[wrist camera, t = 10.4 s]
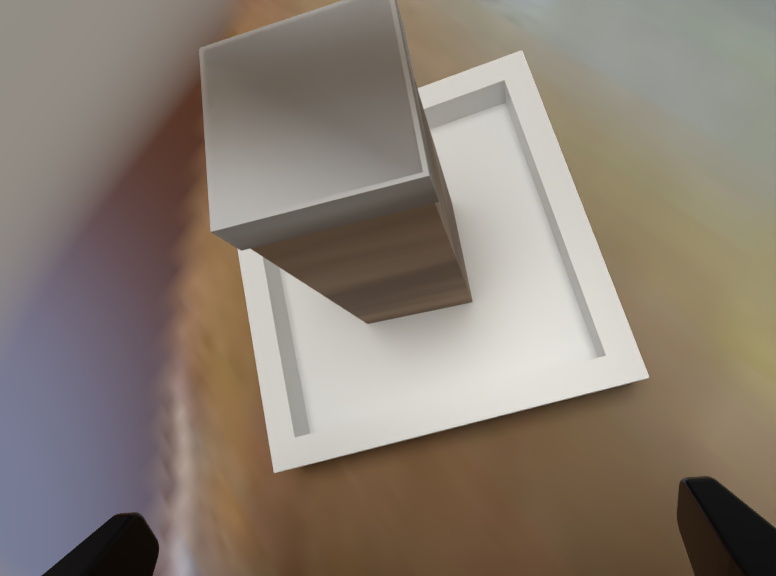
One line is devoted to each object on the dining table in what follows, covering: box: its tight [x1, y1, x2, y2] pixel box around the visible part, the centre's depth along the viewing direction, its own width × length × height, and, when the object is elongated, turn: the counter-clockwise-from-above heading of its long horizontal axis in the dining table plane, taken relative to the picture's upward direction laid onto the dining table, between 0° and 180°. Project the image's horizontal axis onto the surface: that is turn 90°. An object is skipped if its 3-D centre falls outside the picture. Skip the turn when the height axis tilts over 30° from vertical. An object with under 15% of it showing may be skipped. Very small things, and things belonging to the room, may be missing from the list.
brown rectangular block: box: [199, 0, 473, 324], centre depth 16 cm, size 4×4×11 cm
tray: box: [237, 50, 649, 473], centre depth 21 cm, size 13×13×2 cm
